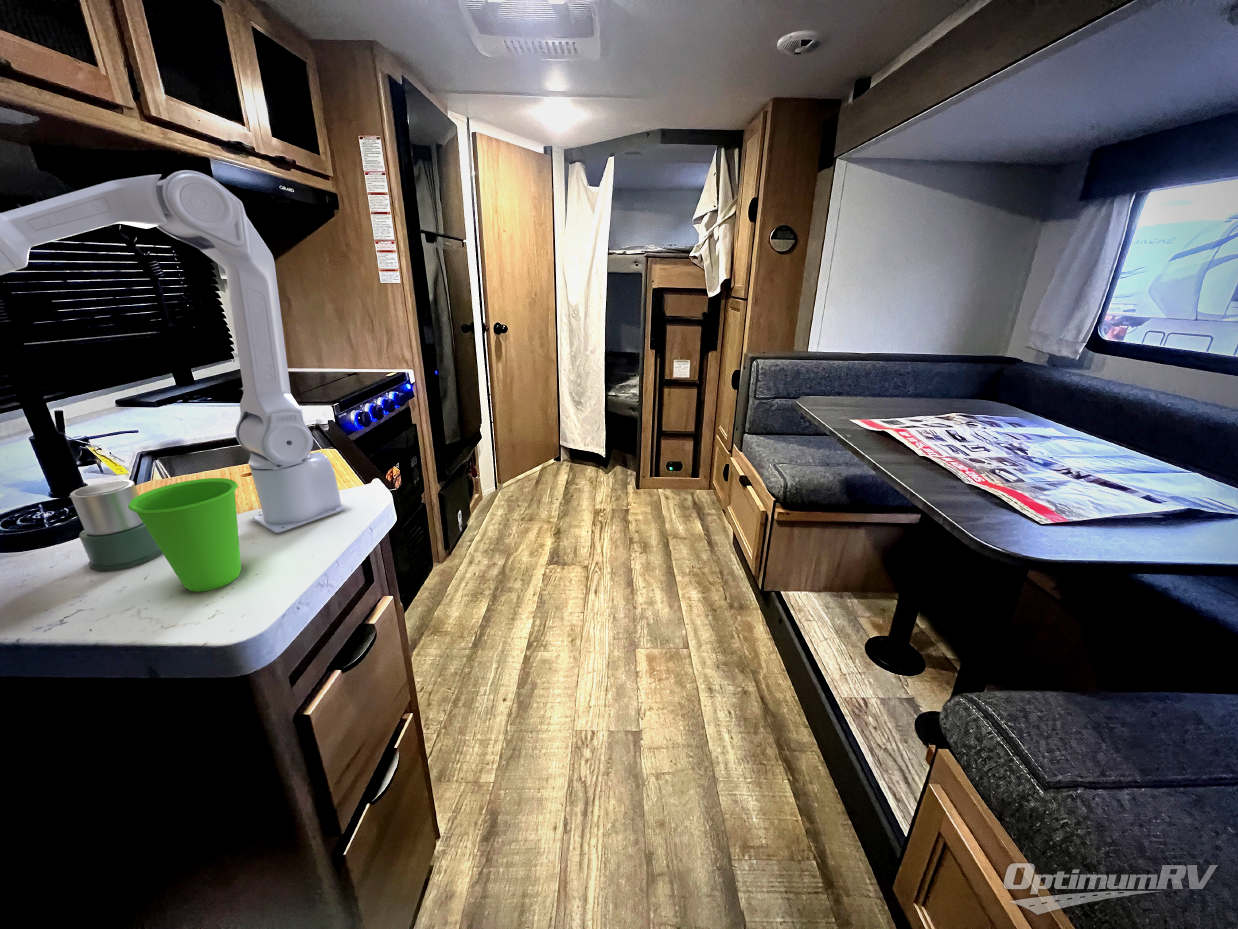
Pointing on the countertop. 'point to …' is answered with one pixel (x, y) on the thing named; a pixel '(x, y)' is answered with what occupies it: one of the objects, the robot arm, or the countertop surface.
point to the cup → (195, 530)
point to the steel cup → (106, 507)
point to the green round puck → (120, 549)
